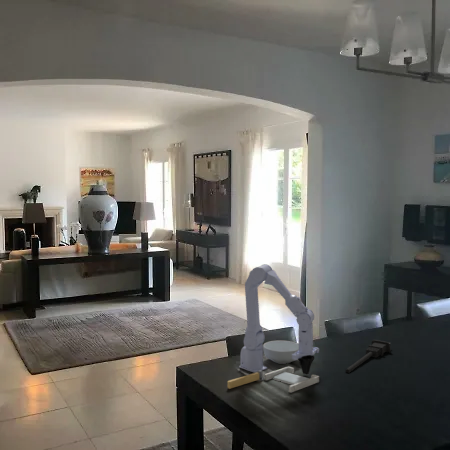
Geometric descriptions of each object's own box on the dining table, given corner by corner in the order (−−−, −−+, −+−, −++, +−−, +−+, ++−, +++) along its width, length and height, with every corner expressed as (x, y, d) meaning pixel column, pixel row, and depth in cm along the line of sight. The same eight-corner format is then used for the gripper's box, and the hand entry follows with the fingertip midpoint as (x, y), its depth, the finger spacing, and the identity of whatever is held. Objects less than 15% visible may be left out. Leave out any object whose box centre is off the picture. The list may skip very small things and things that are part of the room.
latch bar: (260, 377, 205) (259, 369, 204) (263, 378, 203) (263, 371, 203) (226, 387, 194) (226, 379, 194) (230, 389, 192) (230, 381, 192)
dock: (254, 379, 203) (254, 373, 203) (283, 369, 214) (283, 364, 214) (289, 393, 189) (289, 387, 189) (319, 381, 200) (319, 376, 200)
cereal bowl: (289, 370, 214) (288, 353, 213) (255, 362, 224) (255, 346, 223) (308, 359, 227) (308, 343, 227) (276, 352, 237) (276, 337, 237)
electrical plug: (394, 350, 240) (394, 339, 240) (357, 379, 207) (357, 367, 207) (376, 346, 245) (376, 336, 245) (337, 375, 213) (337, 363, 212)
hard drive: (273, 376, 203) (299, 384, 195) (285, 371, 209) (311, 378, 201) (273, 381, 203) (299, 388, 195) (285, 375, 209) (311, 382, 201)
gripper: (301, 346, 198) (301, 380, 199) (325, 338, 208) (325, 371, 208) (287, 342, 204) (287, 375, 204) (311, 335, 213) (311, 367, 214)
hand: (305, 373), depth 207 cm, fingers closed
